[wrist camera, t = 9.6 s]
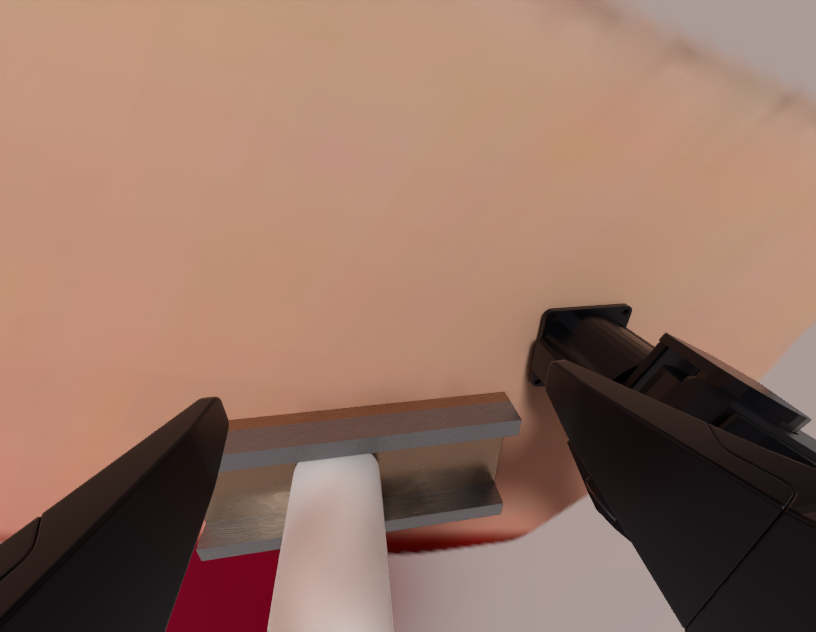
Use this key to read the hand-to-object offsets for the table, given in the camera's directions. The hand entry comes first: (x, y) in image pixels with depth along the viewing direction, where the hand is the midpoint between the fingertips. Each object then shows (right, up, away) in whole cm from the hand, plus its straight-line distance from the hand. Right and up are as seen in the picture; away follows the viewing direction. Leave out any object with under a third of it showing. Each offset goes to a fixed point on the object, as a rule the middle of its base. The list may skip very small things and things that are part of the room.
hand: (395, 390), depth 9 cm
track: (-4, -10, +18) cm, 21 cm away
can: (-5, -10, +17) cm, 20 cm away
